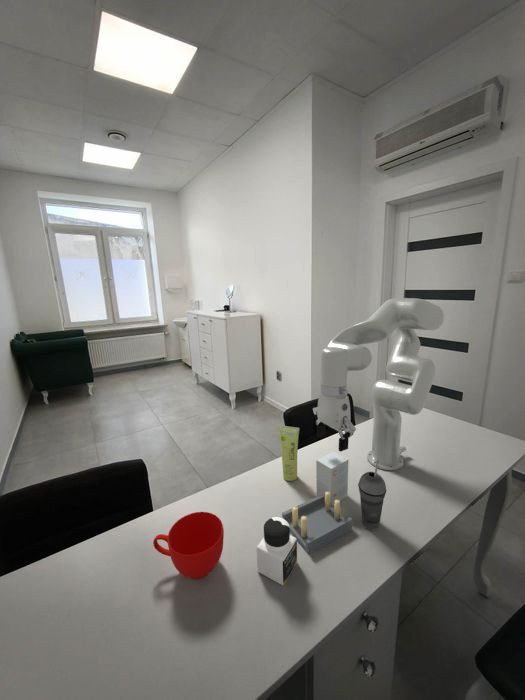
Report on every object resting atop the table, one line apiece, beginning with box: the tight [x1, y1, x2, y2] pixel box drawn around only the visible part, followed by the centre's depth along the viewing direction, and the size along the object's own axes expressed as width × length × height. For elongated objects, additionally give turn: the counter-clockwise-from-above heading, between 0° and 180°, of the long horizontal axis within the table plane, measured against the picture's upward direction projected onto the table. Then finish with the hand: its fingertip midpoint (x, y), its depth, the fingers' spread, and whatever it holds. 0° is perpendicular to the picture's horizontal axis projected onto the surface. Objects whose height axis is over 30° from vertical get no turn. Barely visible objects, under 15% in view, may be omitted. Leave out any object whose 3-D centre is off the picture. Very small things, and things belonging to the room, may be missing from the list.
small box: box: [315, 451, 349, 507], centre depth 94 cm, size 8×6×13 cm
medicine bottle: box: [256, 516, 298, 586], centre depth 71 cm, size 7×7×12 cm
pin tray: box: [281, 492, 353, 555], centre depth 83 cm, size 15×12×7 cm
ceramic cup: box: [152, 511, 225, 580], centre depth 72 cm, size 13×17×10 cm
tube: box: [277, 424, 300, 482], centre depth 103 cm, size 6×5×20 cm
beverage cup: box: [357, 461, 387, 531], centre depth 82 cm, size 7×7×20 cm
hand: (331, 442), depth 91 cm, fingers open, 9 cm apart
